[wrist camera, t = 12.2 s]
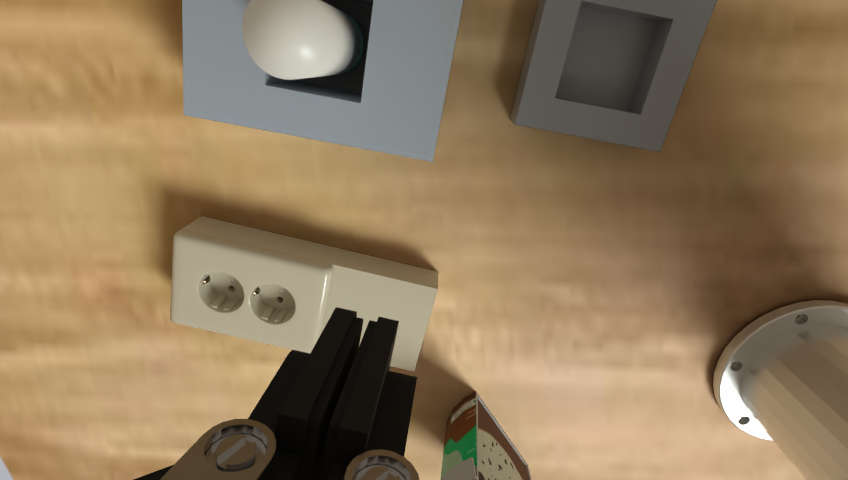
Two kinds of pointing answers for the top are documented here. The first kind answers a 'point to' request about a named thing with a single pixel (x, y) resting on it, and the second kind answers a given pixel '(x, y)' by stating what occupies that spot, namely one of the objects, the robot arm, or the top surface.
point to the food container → (479, 446)
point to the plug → (302, 38)
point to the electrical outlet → (291, 288)
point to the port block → (329, 77)
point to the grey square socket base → (609, 67)
